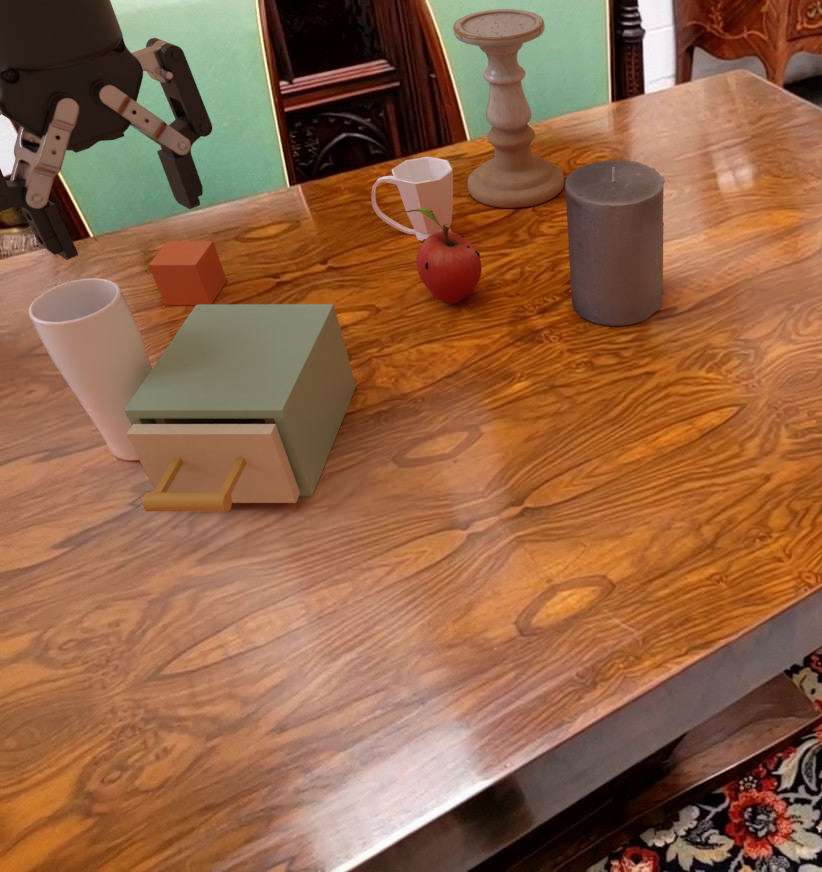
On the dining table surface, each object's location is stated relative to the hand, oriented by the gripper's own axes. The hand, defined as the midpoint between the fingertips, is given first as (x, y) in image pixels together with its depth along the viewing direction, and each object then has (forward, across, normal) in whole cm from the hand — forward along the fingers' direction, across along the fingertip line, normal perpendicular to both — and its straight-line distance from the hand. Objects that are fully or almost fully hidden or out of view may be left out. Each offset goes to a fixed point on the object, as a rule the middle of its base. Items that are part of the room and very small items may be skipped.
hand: (129, 228), depth 62 cm
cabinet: (+24, -5, -4) cm, 25 cm away
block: (+24, -14, -31) cm, 42 cm away
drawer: (+23, -2, -1) cm, 23 cm away
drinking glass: (+24, +2, -12) cm, 27 cm away
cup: (+24, -38, -22) cm, 51 cm away
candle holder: (+24, -54, -22) cm, 63 cm away
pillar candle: (+25, -42, +6) cm, 49 cm away
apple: (+24, -31, -9) cm, 41 cm away
